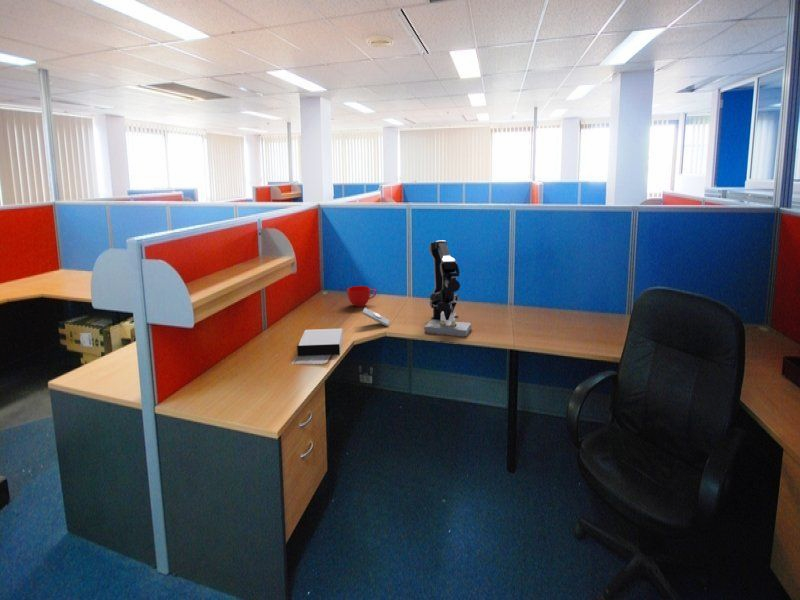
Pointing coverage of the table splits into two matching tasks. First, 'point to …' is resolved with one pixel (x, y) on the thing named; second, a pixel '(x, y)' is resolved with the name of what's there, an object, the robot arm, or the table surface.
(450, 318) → the plug
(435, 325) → the socket
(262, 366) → the table surface
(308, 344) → the disc drive
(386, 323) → the light switch
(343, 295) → the table surface
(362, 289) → the ceramic cup
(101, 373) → the table surface
